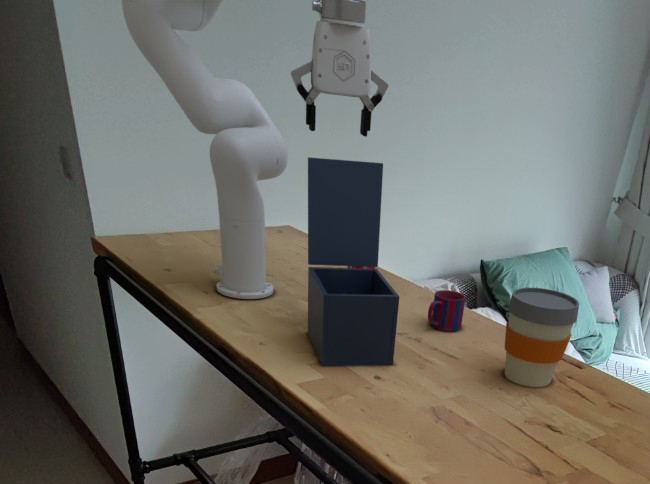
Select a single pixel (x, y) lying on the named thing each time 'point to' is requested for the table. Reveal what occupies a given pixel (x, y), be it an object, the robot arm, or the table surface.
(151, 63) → the robot arm
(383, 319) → the chest
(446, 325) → the cup
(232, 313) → the table surface
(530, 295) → the reusable coffee cup
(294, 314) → the table surface
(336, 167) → the chest lid
